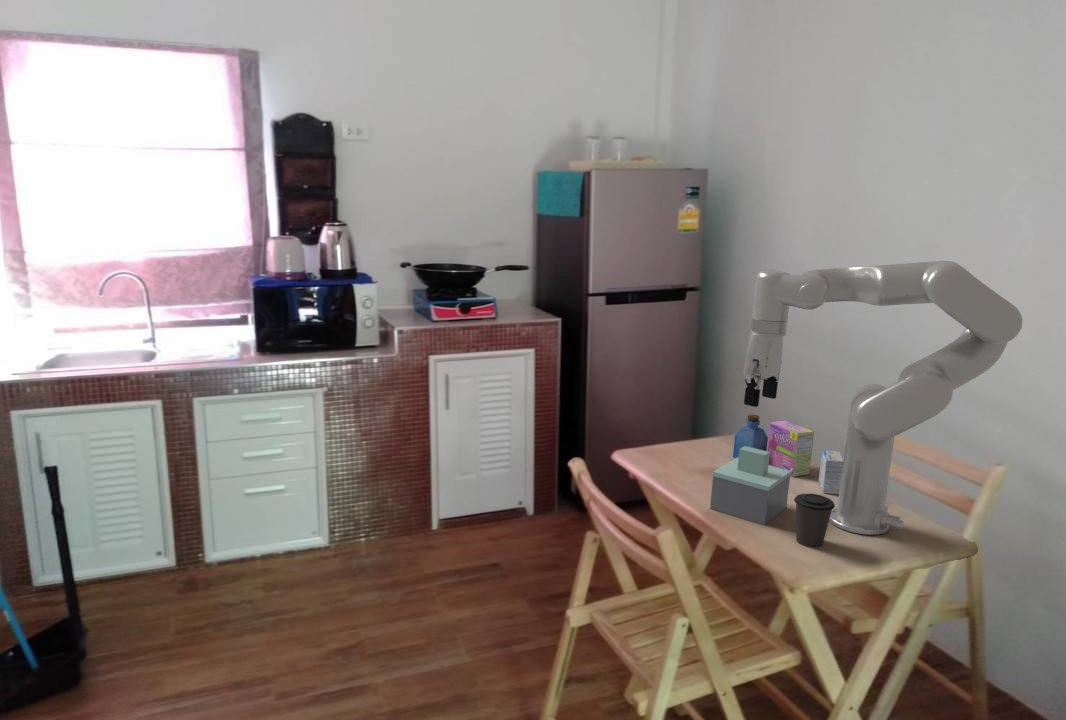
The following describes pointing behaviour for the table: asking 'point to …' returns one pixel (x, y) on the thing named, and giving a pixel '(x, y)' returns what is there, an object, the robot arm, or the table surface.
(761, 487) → the lid
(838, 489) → the medicine box
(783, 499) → the parts tub
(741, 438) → the perfume bottle
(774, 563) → the table surface
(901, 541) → the table surface
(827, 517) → the coffee cup
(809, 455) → the box
